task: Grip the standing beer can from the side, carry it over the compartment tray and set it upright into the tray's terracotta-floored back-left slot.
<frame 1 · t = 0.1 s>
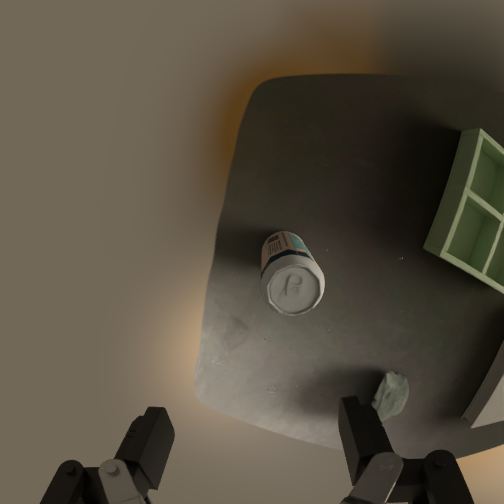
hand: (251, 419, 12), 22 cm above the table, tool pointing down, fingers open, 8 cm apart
beer can: (283, 251, 33), on the table
stone: (386, 393, 37), on the table
compartment tray: (484, 215, 30), on the table
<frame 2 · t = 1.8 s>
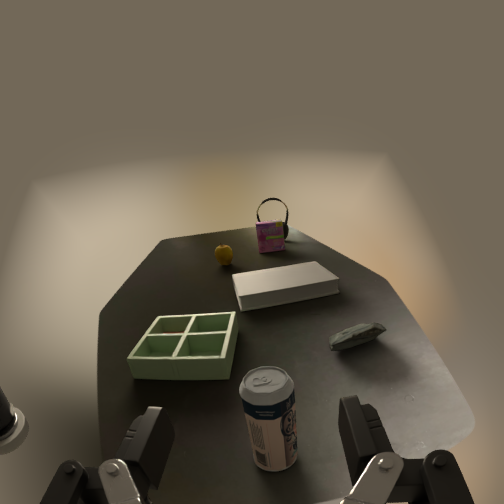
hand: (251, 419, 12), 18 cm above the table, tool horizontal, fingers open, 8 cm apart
box: (272, 250, 121), on the table
beer can: (275, 458, 27), on the table
apple: (225, 265, 107), on the table
stone: (353, 342, 48), on the table
headphones: (275, 242, 136), on the table
compartment tray: (189, 353, 51), on the table
book: (282, 290, 77), on the table
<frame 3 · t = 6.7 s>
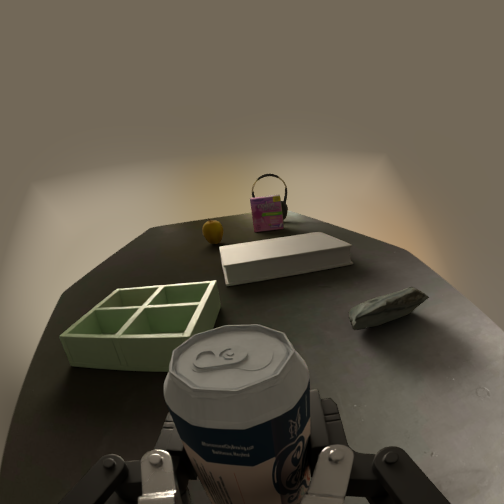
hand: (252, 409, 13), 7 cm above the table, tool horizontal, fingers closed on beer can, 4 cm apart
box: (269, 230, 106), on the table
apple: (214, 244, 92), on the table
stone: (382, 318, 33), on the table
headphones: (273, 223, 121), on the table
compartment tray: (150, 335, 36), on the table
book: (281, 264, 62), on the table
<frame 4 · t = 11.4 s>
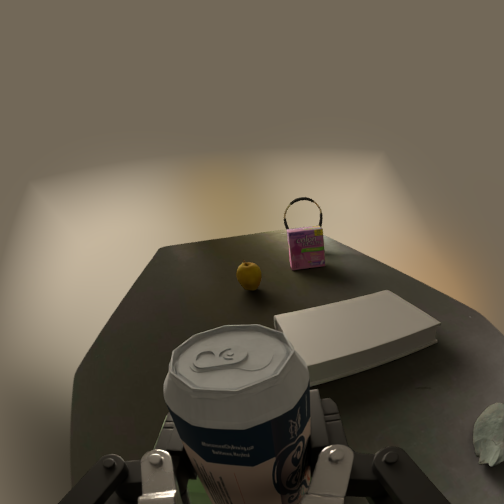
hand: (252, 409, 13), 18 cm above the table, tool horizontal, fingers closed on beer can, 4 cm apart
box: (307, 266, 92), on the table
apple: (251, 290, 78), on the table
stone: (495, 437, 19), on the table
headphones: (306, 253, 107), on the table
compartment tray: (237, 493, 22), on the table
book: (353, 339, 48), on the table
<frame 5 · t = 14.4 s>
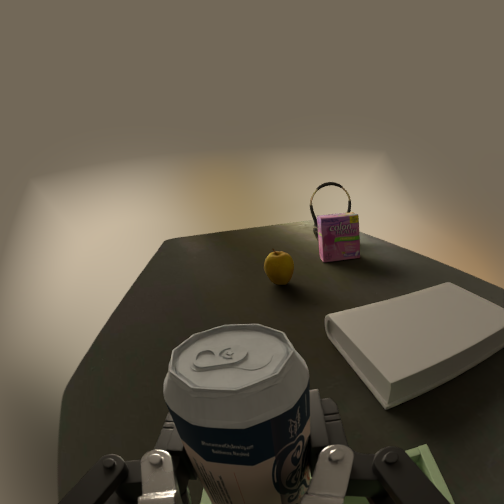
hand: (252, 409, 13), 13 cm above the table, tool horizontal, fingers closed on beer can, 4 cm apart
box: (339, 258, 79), on the table
apple: (280, 284, 65), on the table
headphones: (333, 244, 94), on the table
book: (423, 341, 35), on the table
when the fingers open (8 cm above the table, at t = 16.4 s): beer can stays where it is, resting on compartment tray.
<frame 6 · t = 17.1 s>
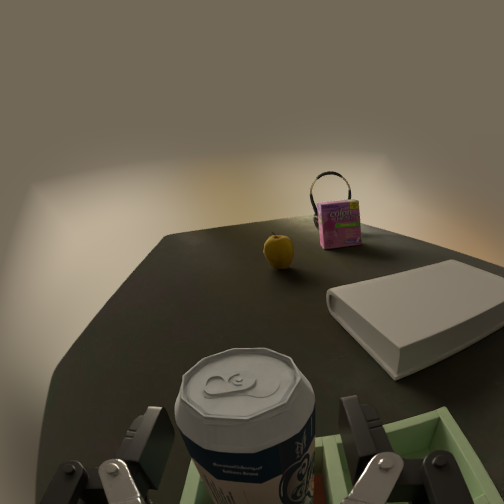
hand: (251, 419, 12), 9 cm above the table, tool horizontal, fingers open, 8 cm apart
box: (340, 246, 78), on the table
apple: (281, 269, 64), on the table
headphones: (334, 234, 93), on the table
book: (430, 316, 34), on the table
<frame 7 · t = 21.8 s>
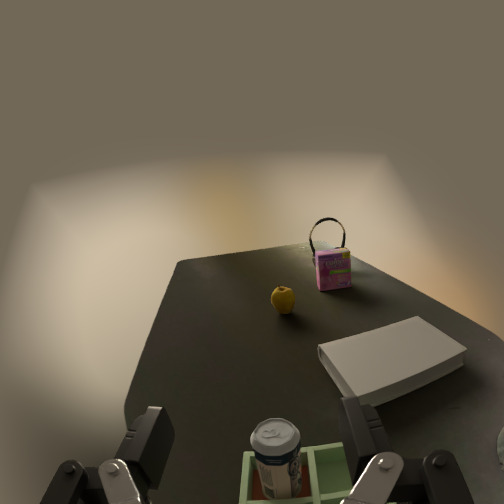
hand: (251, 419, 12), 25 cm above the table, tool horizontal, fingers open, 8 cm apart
box: (334, 287, 93), on the table
beer can: (282, 489, 27), point 1 cm above the table, touching compartment tray
apple: (284, 313, 80), on the table
headphones: (330, 271, 108), on the table
book: (390, 364, 49), on the table
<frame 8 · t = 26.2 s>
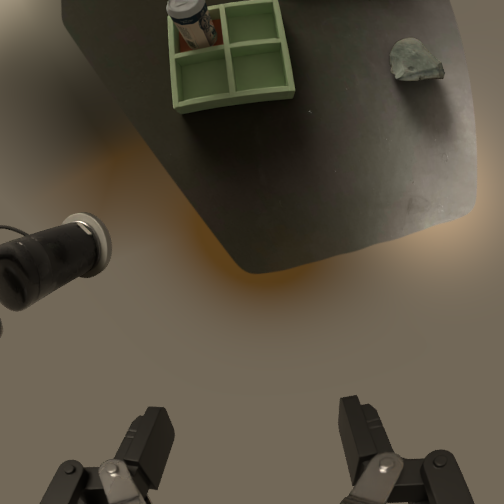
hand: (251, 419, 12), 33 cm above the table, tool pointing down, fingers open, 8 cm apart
beer can: (202, 39, 36), point 1 cm above the table, touching compartment tray
stone: (408, 61, 36), on the table
compartment tray: (230, 57, 37), on the table
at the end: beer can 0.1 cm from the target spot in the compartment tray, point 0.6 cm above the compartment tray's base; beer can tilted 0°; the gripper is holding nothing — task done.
